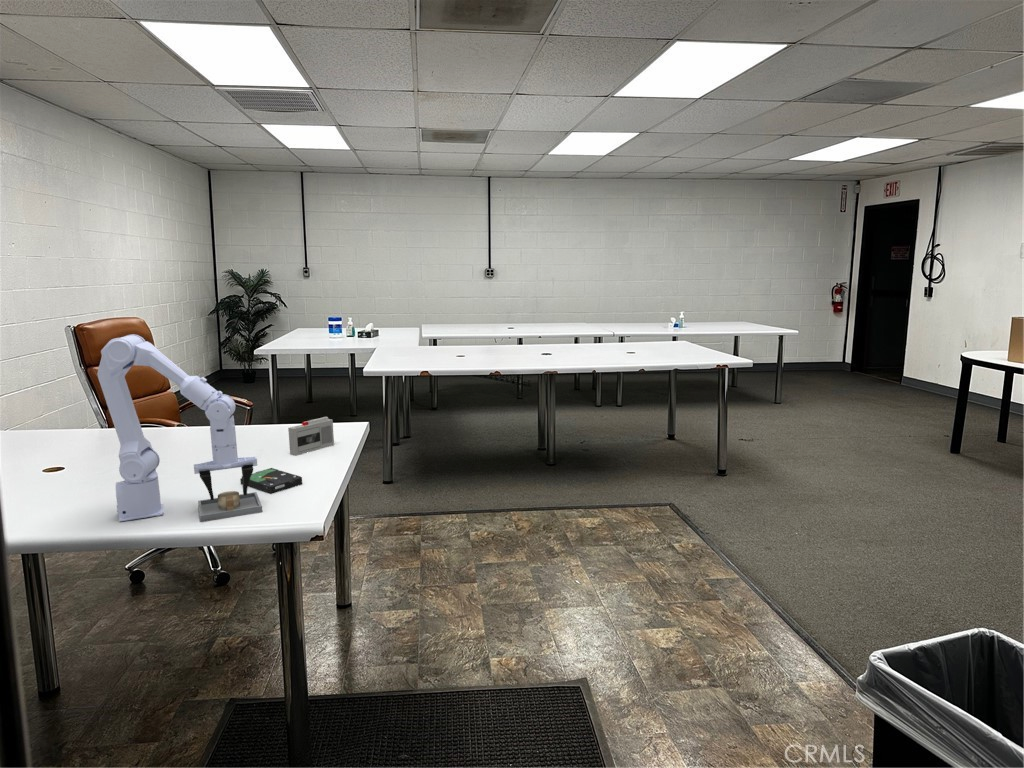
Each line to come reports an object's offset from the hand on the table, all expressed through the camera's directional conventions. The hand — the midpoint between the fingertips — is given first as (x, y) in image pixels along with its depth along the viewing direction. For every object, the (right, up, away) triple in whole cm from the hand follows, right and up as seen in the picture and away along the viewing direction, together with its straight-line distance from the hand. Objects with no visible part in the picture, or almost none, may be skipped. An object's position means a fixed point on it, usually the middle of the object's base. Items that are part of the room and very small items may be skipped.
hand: (228, 496), depth 170 cm
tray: (+1, -3, -1) cm, 3 cm away
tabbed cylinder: (+1, -3, -1) cm, 3 cm away
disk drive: (+4, 0, +19) cm, 19 cm away
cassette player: (+5, +6, +54) cm, 54 cm away
